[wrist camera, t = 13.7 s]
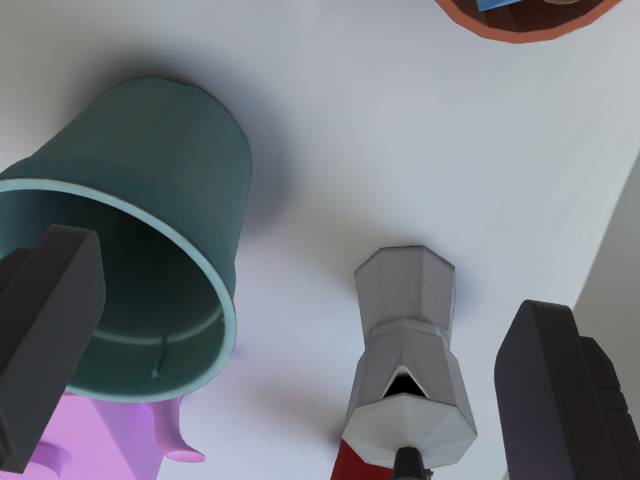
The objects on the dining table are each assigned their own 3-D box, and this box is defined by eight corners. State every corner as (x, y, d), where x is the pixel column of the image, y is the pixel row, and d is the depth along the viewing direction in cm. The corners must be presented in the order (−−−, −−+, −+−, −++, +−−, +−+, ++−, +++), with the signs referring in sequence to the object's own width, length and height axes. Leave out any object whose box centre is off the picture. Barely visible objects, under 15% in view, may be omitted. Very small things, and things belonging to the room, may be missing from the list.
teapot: (251, 392, 62) (221, 529, 51) (25, 392, 66) (-47, 520, 55) (217, 282, 53) (172, 421, 42) (-44, 290, 56) (-147, 420, 46)
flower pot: (85, 232, 50) (-15, 392, 38) (28, 36, 40) (-135, 168, 28) (283, 246, 49) (245, 415, 37) (277, 49, 39) (222, 192, 27)
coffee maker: (342, 227, 48) (322, 427, 34) (458, 220, 46) (486, 426, 32) (363, 353, 57) (353, 552, 43) (460, 351, 55) (482, 555, 41)
